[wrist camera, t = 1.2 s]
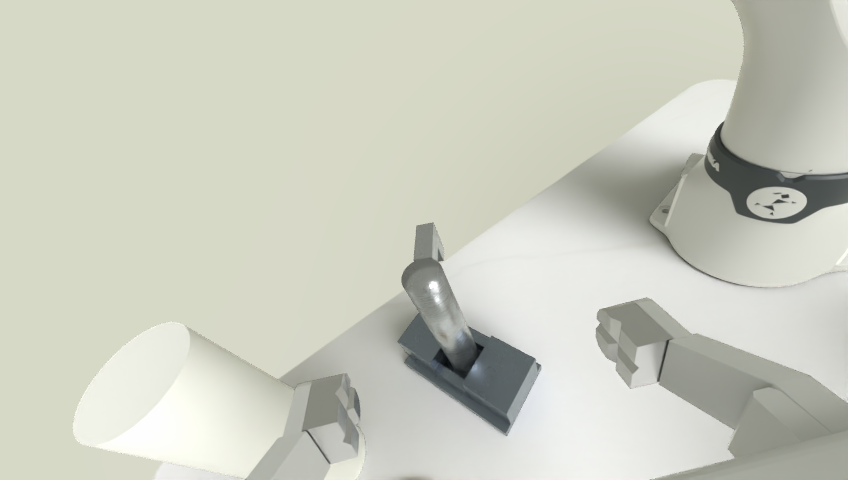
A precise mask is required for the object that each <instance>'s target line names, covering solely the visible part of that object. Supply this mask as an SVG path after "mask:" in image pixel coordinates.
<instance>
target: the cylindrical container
mask: <svg viewBox="0 0 848 480" xmlns="http://www.w3.org/2000/svg"><path fill="white" fill-rule="evenodd" d="M294 390H295V389H293V388H291V387H290V386H288V385H286V384H285V383H283V382H281V381H279V380H278V379H276V378H274V377H272V376H271V375H269V374H267V373H265V372H264V371H262V370H260V369H258V368H257V367H255V366H253V365H252V364H250V363H248V362H246V361H245V360H243V359H241V358H239V357H238V356H236V355H234V354H232V353H231V352H229V351H227V350H226V349H224V348H222V347H220V346H219V345H217V344H215V343H214V342H212V341H210V340H209V339H207V338H205V337H203V336H202V335H200V334H198V333H197V332H195V331H193V330H191V329H190V328H188V327H186V326H185V325H182V324H181V323H178V322H167V323H163V324H159V325H156V326H154V327H152V328H150V329H148V330H146V331H144V332H143V333H141V334H139V335H138V336H136V337H135V338H133V339H132V340H131V341H129V342H128V343H127V344H125V345H124V346H123V347H122V348H121V349H120V350H119V351H118V352H117V353H115V354H114V355H113V356H112V357H111V358H110V359H109V360H108V362H107V363H106V364H105V365H104V366H103V367H102V368H101V370H100V371H99V372H98V373H97V375H96V376H95V377H94V379H93V380H92V382H91V383H90V384H89V386H88V388H87V389H86V391H85V393H84V394H83V396H82V398H81V400H80V403H79V405H78V407H77V410H76V413H75V417H74V421H73V432H74V436H75V438H76V440H77V441H78V442H79V443H81V444H83V445H86V446H90V447H95V448H99V449H104V450H109V451H114V452H119V453H123V454H128V455H134V456H138V457H143V458H147V459H152V460H157V461H162V462H167V463H171V464H176V465H181V466H186V467H190V468H195V469H200V470H205V471H210V472H214V473H219V474H224V475H229V476H234V477H238V478H243V479H246V478H247V477H248V475H249V474H250V473H251V472H252V470H253V469H254V468H255V466H256V465H257V464H258V463H259V461H260V460H261V459H262V458H263V456H264V455H265V454H266V452H267V451H268V450H269V449H270V447H271V446H272V445H273V444H274V442H275V441H276V440H277V438H280V437H283V434H284V430H285V426H286V422H287V418H288V414H289V410H290V406H291V402H292V398H293V394H294ZM356 429H357V431H358V433H359V448H358V457H355V458H352V459H348V460H345V461H341V462H338V463H334V464H330V466H331V467H330V469H329V471H328V473H327V475H326V476H325V478H324V480H356V479H357V478H358V476H359V474H360V472H361V470H362V468H363V465H364V461H365V456H366V444H365V438H364V436H363V433H362V432H361V430H360V428H359V427H358V426H356Z"/></svg>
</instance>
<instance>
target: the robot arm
mask: <svg viewBox="0 0 848 480" xmlns="http://www.w3.org/2000/svg"><path fill="white" fill-rule="evenodd" d="M731 1H732V2H733V4H734V6H735V8H736V10H737V12H738V14H739V17H740V21H741V24H742V29H743V36H744V55H743V62H742V66H741V70H740V74H739V78H738V82H737V85H736V89H735V92H734V96H733V99H732V102H731V105H730V108H729V111H728V113H727V116H726V119H725V121H724V122H722V123H721V124H720V125H719V127H718V128H717V130H716V131H715V134H714V135H713V137H712V139H711V141H710V143H709V145H708V148H707V154H706V155H701V154H695V153H694V154H691V156H690V157H689V159H688V161H687V163H686V165H685V168H684V169H683V171H682V173H681V180H680V181H679V182H678V183H677V184H676V185H675V187H674V188H673V189H672V190H671V191H670V192H669V194H668V195H667V196H666V197H665V198H664V199H663V201H662V202H661V203H660V204H659V205H658V206H657V208H656V209H655V210H654V211H653V212H652V214H651V216H650V219H649V221H650V223H651V224H652V225H653V226H654V227H656V228H657V229H658V230H660V231H661V232H663V233H664V234H665V235H666V236H667V238H668V239H669V241H670V243H671V244H672V246H673V248H674V249H675V250H676V252H677V253H678V254H679V255H680V256H681V257H682V258H683V259H684V260H686V261H687V262H688V263H690V264H691V265H692V266H694V267H696V268H697V269H699V270H701V271H703V272H705V273H707V274H709V275H711V276H714V277H716V278H719V279H722V280H725V281H728V282H732V283H736V284H741V285H746V286H754V287H786V286H792V285H796V284H800V283H804V282H806V281H809V280H811V279H813V278H815V277H817V276H819V275H822V274H824V273H828V272H838V271H848V0H731ZM597 320H598V321H599V322H600V324H599V326H598V327H597V328H596V339H597V342H598V345H599V347H600V349H601V351H602V352H603V354H604V355H605V357H606V358H607V359H609V360H611V361H613V362H615V363H616V371H617V372H618V374H619V375H620V376H621V378H622V379H623V380H624V381H625V383H626V384H627V385H628V387H629V388H630V389H632V388H636V387H641V386H645V385H650V384H654V383H659V385H661V386H662V387H664V388H666V389H667V390H669V391H671V392H672V393H674V394H676V395H677V396H679V397H681V398H682V399H684V400H686V401H687V402H689V403H691V404H692V405H694V406H696V407H697V408H699V409H701V410H702V411H704V412H706V413H707V414H709V415H711V416H712V417H714V418H716V419H717V420H719V421H721V422H722V423H724V424H726V425H727V426H729V427H730V428H732V429H734V430H735V431H734V433H733V435H732V437H731V439H730V441H729V443H728V450H729V451H730V452H731V453H732V454H733V456H734V457H735V459H731V460H727V461H723V462H719V463H715V464H711V465H707V466H703V467H699V468H695V469H691V470H687V471H683V472H679V473H675V474H671V475H667V476H663V477H659V478H655V479H651V480H848V403H846V402H845V401H844V400H842V399H841V398H840V397H838V396H837V395H835V394H834V393H833V392H831V391H830V390H829V389H827V388H826V387H825V386H823V385H822V384H821V383H819V382H818V381H817V380H815V379H814V378H812V377H811V376H809V375H807V374H804V373H801V372H799V371H796V370H793V369H791V368H788V367H785V366H783V365H780V364H777V363H775V362H772V361H769V360H767V359H764V358H761V357H759V356H756V355H753V354H751V353H748V352H745V351H743V350H740V349H737V348H735V347H732V346H729V345H727V344H724V343H721V342H718V341H716V340H713V339H710V338H708V337H705V336H702V335H700V334H691V333H690V332H689V331H687V330H686V329H685V328H684V327H683V326H682V325H680V324H679V323H678V322H677V321H676V320H675V319H674V318H672V317H671V316H670V315H669V314H668V313H667V312H666V311H664V310H663V309H662V308H661V307H660V306H659V305H658V304H656V303H655V302H654V301H653V300H652V299H650V298H643V299H639V300H635V301H631V302H626V303H622V304H618V305H615V306H611V307H607V308H603V309H599V311H598V312H597ZM359 420H360V404H359V398H358V395H357V392H356V390H355V389H354V388H352V387H350V379H349V377H348V375H347V373H346V374H340V375H335V376H331V377H326V378H322V379H317V380H313V381H309V382H305V383H301V384H298V385H297V387H296V388H295V390H294V394H293V398H292V402H291V406H290V410H289V414H288V418H287V422H286V426H285V430H284V434H283V437H280V438H277V440H276V441H275V442H274V444H273V445H272V446H271V447H270V449H269V450H268V451H267V452H266V454H265V455H264V456H263V458H262V459H261V460H260V461H259V463H258V464H257V465H256V466H255V468H254V469H253V470H252V472H251V473H250V474H249V475H248V477H247V478H246V479H245V480H324V478H325V476H326V475H327V473H328V471H329V469H330V467H331V466H330V464H334V463H338V462H341V461H345V460H348V459H352V458H355V457H358V448H359V433H358V431H357V429H356V425H357V424H358V422H359Z"/></svg>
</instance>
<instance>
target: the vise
mask: <svg viewBox="0 0 848 480" xmlns="http://www.w3.org/2000/svg"><path fill="white" fill-rule="evenodd" d="M468 328H469V330H470V333H471V335H472V337H473V340H474V342H475V344H476V346H477V349H478V351H479V353H480V355H479V357H478V359H477V360H476V362H475V364H474V365H473V367H472V369H471V370H470V372H469V373H468V375H467V377H466V378H463V377H461V376H459V375H458V374H457V373H456V371H455V369H454V368H453V366H452V365H451V363H450V361H449V360H448V358H447V356H446V355H445V353H444V352H443V350H442V348H441V347H440V345H439V344H438V342H437V340H436V339H435V337H434V335H433V334H432V332H431V331H430V329H429V327H428V326H427V324H426V323H425V321H424V319H423V318H422V316H421V315H420V313H418V315H417V316H416V317H415V319H414V320H413V321H412V323H411V324H410V325H409V327H408V328H407V330H406V331H405V332H404V334H403V335H402V336H401V338H400V339H399V340H398V343H399V344H400V345H401V347H402V348H403V349H404V350H405V351H406V353H407V354H408V355H409V357H408V358H407V360H406V361H405V362H404V363H405V364H406V365H407V366H408V367H410V368H411V369H413V370H414V371H415V372H417V373H418V374H420V375H421V376H422V377H424V378H425V379H427V380H428V381H430V382H431V383H432V384H434V385H435V386H437V387H438V388H439V389H441V390H442V391H444V392H445V393H446V394H448V395H449V396H451V397H452V398H453V399H455V400H456V401H458V402H459V403H461V404H462V405H463V406H465V407H466V408H468V409H469V410H470V411H472V412H473V413H475V414H476V415H477V416H479V417H480V418H482V419H483V420H485V421H486V422H487V423H489V424H490V425H492V426H493V427H494V428H496V429H497V430H499V431H500V432H501V433H503V434H504V435H506V436H507V435H508V433H509V431H510V429H511V427H512V425H513V423H514V421H515V419H516V417H517V415H518V413H519V411H520V409H521V408H522V406H523V404H524V402H525V400H526V398H527V396H528V394H529V392H530V390H531V388H532V386H533V384H534V382H535V380H536V378H537V376H538V374H539V372H540V370H541V365H540V364H538V363H536V359H535V358H533V357H531V356H529V355H527V354H525V353H524V352H522V351H520V350H518V349H516V348H514V347H512V346H510V345H508V344H506V343H504V342H503V341H501V340H499V339H497V338H495V337H493V336H491V337H490V338H489V337H487V336H485V335H483V334H481V333H480V332H478V331H476V330H474V329H472V328H470V327H468Z"/></svg>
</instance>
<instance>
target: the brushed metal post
mask: <svg viewBox="0 0 848 480" xmlns="http://www.w3.org/2000/svg"><path fill="white" fill-rule="evenodd" d="M439 261H444V247H443V245H442V242H441V240H440V237H439V235H438V232H437V230H436V227H435V225H434V223H428V224H423V225H418V226H417V227H416V240H415V250H414V262H413V263H411V264H410V265H409V266H408V267H407V268H406V269H405V271H404V272H403V275H402V285H403V287H404V289H405V290H406V292H407V294H408V295H409V297H410V298H411V300H412V302H413V303H414V305H415V306H416V308H417V310H418V311H419V313H420V315H421V316H422V318H423V319H424V321H425V323H426V324H427V326H428V327H429V329H430V331H431V332H432V334H433V335H434V337H435V339H436V340H437V342H438V344H439V345H440V347H441V348H442V350H443V352H444V353H445V355H446V356H447V358H448V360H449V361H450V363H451V365H452V366H453V368H454V369H455V371H456V373H457V374H458V375H459V376H461V377H463V378H466V377H467V375H468V373H469V372H470V370H471V369H472V367H473V365H474V364H475V362H476V360H477V359H478V357H479V355H480V353H479V351H478V349H477V346H476V344H475V342H474V340H473V337H472V335H471V333H470V330H469V328H468V326H467V324H466V321H465V319H464V317H463V315H462V312H461V310H460V308H459V305H458V303H457V301H456V299H455V296H454V294H453V292H452V289H451V287H450V285H449V283H448V280H447V278H446V276H445V273H444V271H443V269H442V267H441V265H440V263H438V262H439Z"/></svg>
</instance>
